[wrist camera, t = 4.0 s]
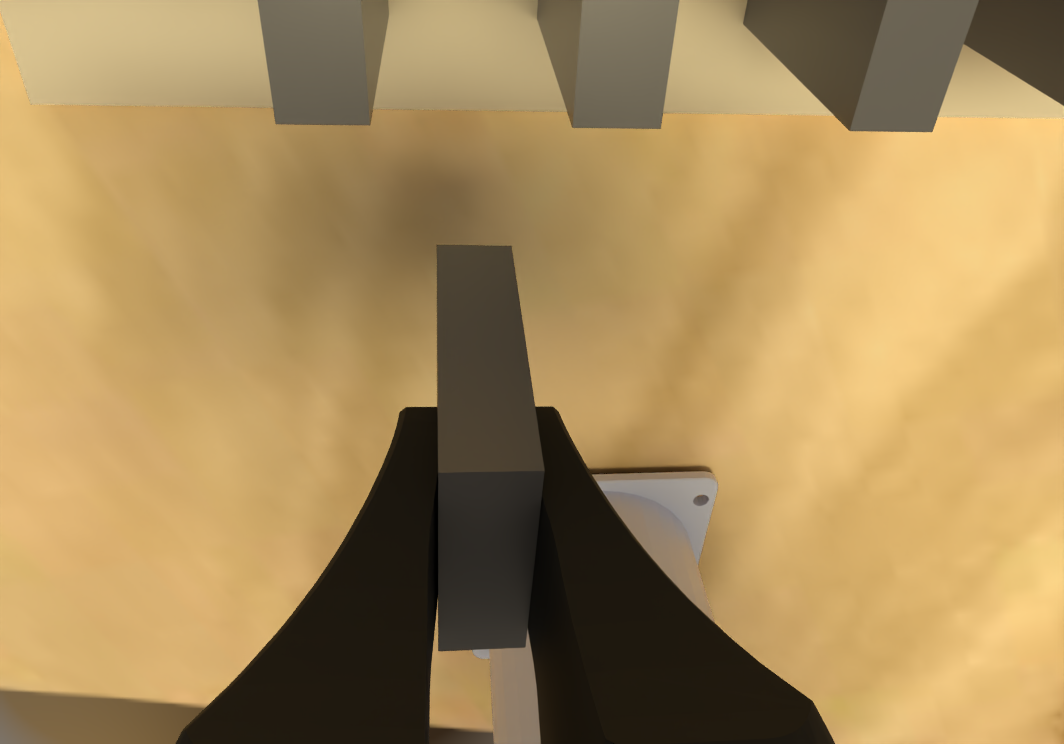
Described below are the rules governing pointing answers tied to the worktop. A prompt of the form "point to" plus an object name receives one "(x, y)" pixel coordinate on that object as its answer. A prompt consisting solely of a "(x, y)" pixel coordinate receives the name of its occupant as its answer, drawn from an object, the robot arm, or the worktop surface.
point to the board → (423, 60)
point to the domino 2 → (484, 453)
